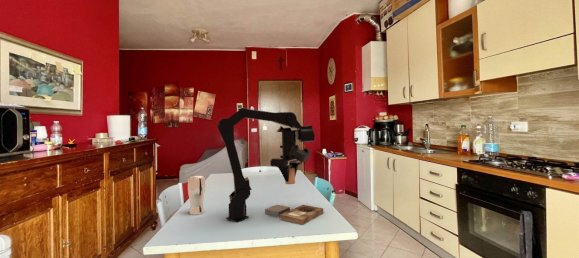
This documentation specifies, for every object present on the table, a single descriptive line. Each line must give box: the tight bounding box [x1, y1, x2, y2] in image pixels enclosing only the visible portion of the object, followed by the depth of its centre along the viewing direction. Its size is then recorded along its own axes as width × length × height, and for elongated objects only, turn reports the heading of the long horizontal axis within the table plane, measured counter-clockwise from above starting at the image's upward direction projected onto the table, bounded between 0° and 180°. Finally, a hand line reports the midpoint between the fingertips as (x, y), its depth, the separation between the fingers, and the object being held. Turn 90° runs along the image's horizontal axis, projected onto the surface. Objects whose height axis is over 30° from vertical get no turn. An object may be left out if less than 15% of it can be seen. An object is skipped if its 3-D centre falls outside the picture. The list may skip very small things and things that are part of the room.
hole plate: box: [279, 204, 324, 226], centre depth 110 cm, size 16×10×2 cm, turn 145°
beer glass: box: [187, 175, 206, 215], centre depth 117 cm, size 7×7×15 cm
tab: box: [264, 204, 291, 218], centre depth 115 cm, size 8×7×2 cm
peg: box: [284, 168, 296, 185], centre depth 114 cm, size 4×4×6 cm
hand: (290, 180), depth 114 cm, fingers closed on peg, 4 cm apart
